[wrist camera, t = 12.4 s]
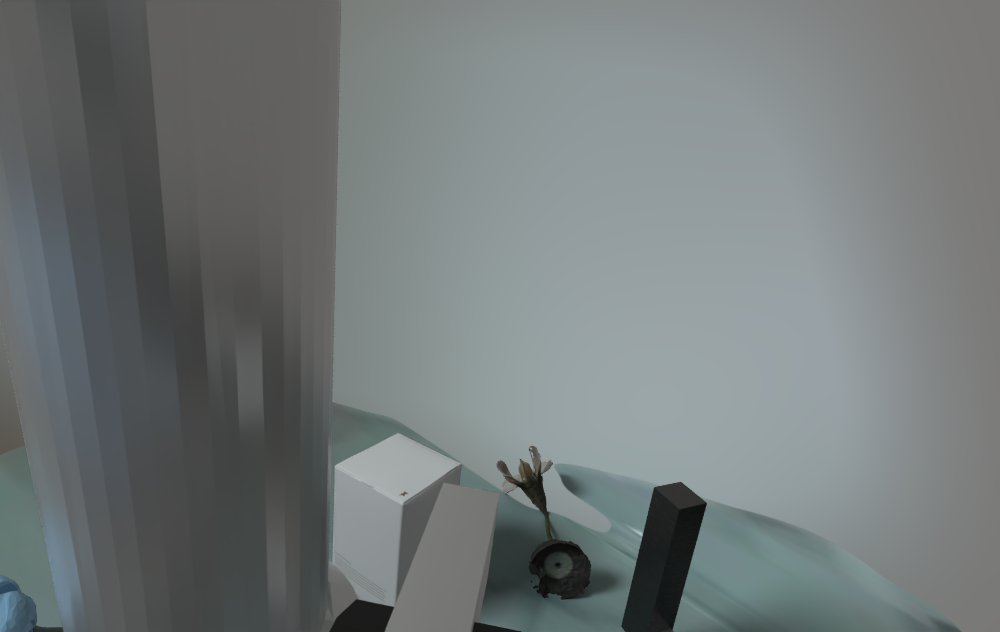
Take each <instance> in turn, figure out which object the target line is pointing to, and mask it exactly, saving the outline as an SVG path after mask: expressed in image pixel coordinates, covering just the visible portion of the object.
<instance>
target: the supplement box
mask: <svg viewBox="0 0 1000 632" xmlns="http://www.w3.org/2000/svg"><path fill="white" fill-rule="evenodd" d="M461 468H462V464H461V463H459V462H456V461H454V460H452V459H450V458H448V457H446V456H444V455H442V454H440V453H438V452H436V451H434V450H432V449H429V448H427V447H425V446H423V445H421V444H419V443H417V442H415V441H413V440H411V439H409V438H407V437H405V436H403V435H401V434H399V433H398V434H396V435H394V436H392V437H390V438H388V439H386V440H384V441H382V442H380V443H379V444H377V445H375V446H373V447H371V448H369V449H367V450H365V451H363V452H361V453H359V454H356V455H354V456H352V457H350V458H348V459H346V460H344V461H343V462H341V463H339V464H337V465H336V466H335V494H334V532H333V564H334V565H335V566H336V567H337V568H338V569H339V570H340V571H341V572H342V573H343V574H344V575H345V576H346V578H347V579H348V581H349V582H350V583H351V585H352V586H353V588H354V590H355V593H356V595H357V597H358V599H359V600H363V601H368V602H373V603H378V604H383V605H387V606H392V607H395V604H396V602H397V599H398V597H399V594H400V592H401V589H402V587H403V584H404V581H405V579H406V576H407V574H408V571H409V569H410V566H411V564H412V561H413V559H414V556H415V554H416V551H417V549H418V546H419V543H420V541H421V538H422V536H423V533H424V531H425V528H426V526H427V523H428V521H429V518H430V516H431V513H432V510H433V508H434V505H435V503H436V500H437V498H438V495H439V493H440V490H441V488H442V485H443V483H448V484H453V485H458V486H460V477H461Z"/></svg>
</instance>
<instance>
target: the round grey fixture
mask: <svg viewBox="0 0 1000 632" xmlns="http://www.w3.org/2000/svg"><path fill="white" fill-rule="evenodd" d="M706 505H707V503H706V502H705V501H704V500H703V499H701V498H700V497H699V496H698V495H696V494H695V493H694V492H693V491H692V490H690V489H689V488H688V487H687V486H685V485H684V484H683V483H682V482H678V483H673V484H668V485H663V486H658V487H654V490H653V494H652V499H651V503H650V507H649V511H648V516H647V520H646V524H645V528H644V533H643V537H642V541H641V545H640V549H639V554H638V558H637V562H636V566H635V571H634V575H633V579H632V583H631V588H630V592H629V596H628V600H627V605H626V609H625V613H624V617H623V622H622V626H621V627H622V628H623V629H624V631H625V632H674V631H673V626H674V622H675V619H676V615H677V611H678V608H679V604H680V600H681V597H682V593H683V589H684V586H685V582H686V578H687V574H688V571H689V567H690V563H691V560H692V556H693V552H694V549H695V545H696V541H697V538H698V534H699V530H700V527H701V523H702V519H703V516H704V512H705V508H706Z"/></svg>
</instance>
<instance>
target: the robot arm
mask: <svg viewBox="0 0 1000 632" xmlns="http://www.w3.org/2000/svg"><path fill="white" fill-rule="evenodd" d="M340 25H341V0H0V322H1V327H2V332H3V337H4V342H5V347H6V352H7V356H8V361H9V366H10V371H11V376H12V381H13V386H14V390H15V396H16V400H17V406H18V410H19V415H20V420H21V425H22V430H23V435H24V440H25V445H26V450H27V455H28V460H29V464H30V469H31V474H32V479H33V484H34V489H35V494H36V499H37V504H38V509H39V514H40V518H41V523H42V528H43V533H44V538H45V543H46V548H47V553H48V558H49V563H50V568H51V572H52V577H53V582H54V587H55V592H56V597H57V602H58V607H59V612H60V617H61V621H62V626H63V627H49V628H47V627H39V626H36V622H37V614H36V605H35V603H34V601H33V600H32V599H31V598H30V597H28V596H26V595H25V594H24V593H22V592H21V590H20V588H19V586H18V584H17V583H16V582H15V581H13V580H11V579H9V578H7V577H5V576H2V575H0V632H521V631H516V630H511V629H506V628H501V627H496V626H492V625H487V624H482V623H479V619H480V614H481V609H482V604H483V599H484V594H485V589H486V584H487V579H488V572H489V565H490V558H491V551H492V544H493V537H494V530H495V523H496V516H497V509H498V502H499V495H500V493H496V492H491V491H485V490H480V489H475V488H469V487H464V486H458V485H453V484H448V483H443V485H442V488H441V490H440V493H439V495H438V498H437V500H436V503H435V505H434V508H433V510H432V513H431V516H430V518H429V521H428V523H427V526H426V528H425V531H424V533H423V536H422V538H421V541H420V543H419V546H418V549H417V551H416V554H415V556H414V559H413V561H412V564H411V566H410V569H409V571H408V574H407V576H406V579H405V581H404V584H403V587H402V589H401V592H400V594H399V597H398V599H397V602H396V604H395V607H392V606H387V605H383V604H378V603H373V602H368V601H363V600H359V599H358V597H357V595H356V593H355V590H354V588H353V586H352V585H351V583H350V582H349V581H348V579H347V578H346V576H345V575H344V574H343V573H342V572H341V571H340V570H339V569H338V568H337V567H336V566H335V565H334V564H333V563H331V562H330V561H329V521H330V476H331V431H332V386H333V341H334V340H333V338H334V296H335V295H334V294H335V249H336V205H337V204H336V203H337V162H338V161H337V159H338V117H339V116H338V115H339V72H340V71H339V69H340Z"/></svg>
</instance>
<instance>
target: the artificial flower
mask: <svg viewBox="0 0 1000 632" xmlns="http://www.w3.org/2000/svg"><path fill="white" fill-rule="evenodd" d="M530 447H532V449H531V450H530ZM530 447H529V451H531V452H532V453H533V457H532V455H531V457H532V461H533V466H534V468H533V469H531V467H530V465H529V464H528V463H526V462H524V461H522V460H521V459H520V465H519V473H520V475H516V476H514V477H512V475H511V474H510V472H509V470H508V468H507V466H506V464H505V463H504V462H503V461H498V462H497V468H498V470H499V471H500V472H501V473H502V474H503V476H504V477H505V479H506V480H504V481H503V483H502V486H503V488H504V493H505V494H506V493H508V492H509V491H512V490H514V489H515V488H517V487H520V488H521V489H522V490H523V491H524V493H525V494H526V495H527V496H528V497H529V498H530V499H531V501H532V503H533V504H534V505H535V506H536V507H538V508H539V510H540V511H541V512H542V513H543V514H544V516H545V526H546V532H547V536H548V539H549V541H546V542H543V543H542V544H541V545H539V546H538V547H537V549H536V550H535V552H534V553H533V555H532V557H531V561H530V566H529V569H530V573H531V574H535V575H537V576H538V577H539V578H540V583H539V585H538V586H535V587H533V588H538V587H539V589H538V590H537V593H539V594H540V593H541V594H542V596H543V597H544V598H546V597H547V598H548V597H549V596H547V593H551V594H557V595H560V596H562V597H561V599H562V600H563V599H565V598H569V597H570V598H571V597H575V595H576V596H577V595H578V594H580V593H582V594H583V593H584V590H585V587H587V586H588V584H589V583H590V581H589V577H590V571H591V569H590V568H591V564H590V561H589V560H588V557H587V556H586V555H585V554H584V553H583V551H582V550H581V548H580V547H579V546H578V545H577V544H574V543H573V542H571V541H569V542H566V541H562V540H561V541H559V540H555V539H553V538H552V536H551V534H550V528H549V522H548V519H549V518H548V513H547V509H546V496H545V493H544V489H543V483H542V481H543V478H542V476H541V474H543V473H544V472H546V471H547V470H548V469H550V467H551V465H552V464H553V463H552V462H551V460H550V461H548V462H542V463H541V461H540V458H541V456H540V454H539V453H538V451H537V448H536V447H534V446H530ZM530 454H531V453H530ZM552 539H553V540H552ZM531 583H532V581H531Z"/></svg>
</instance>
